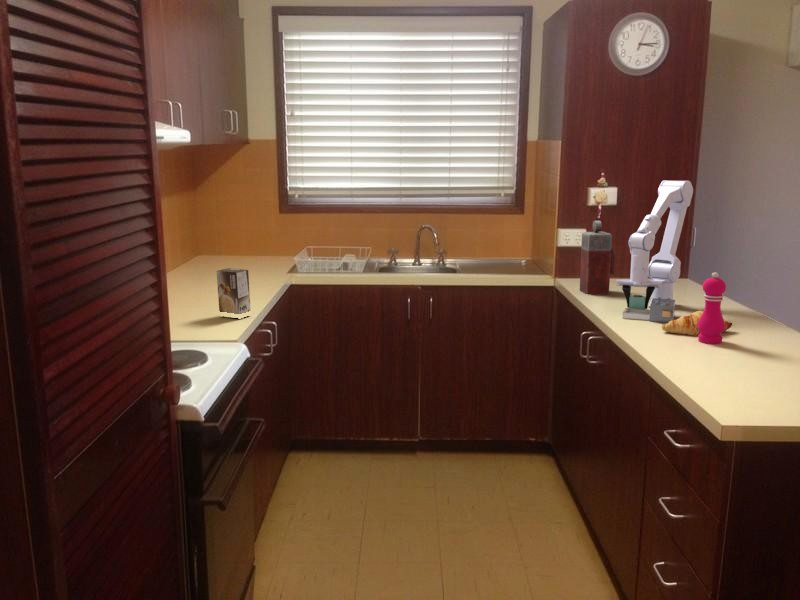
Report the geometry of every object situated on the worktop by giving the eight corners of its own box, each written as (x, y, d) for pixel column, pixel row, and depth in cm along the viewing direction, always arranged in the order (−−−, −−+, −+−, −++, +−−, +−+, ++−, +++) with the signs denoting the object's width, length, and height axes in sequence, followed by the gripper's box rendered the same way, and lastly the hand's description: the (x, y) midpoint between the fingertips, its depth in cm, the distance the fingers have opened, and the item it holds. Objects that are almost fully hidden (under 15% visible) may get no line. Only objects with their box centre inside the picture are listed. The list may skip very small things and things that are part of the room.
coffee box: (252, 316, 241) (249, 269, 237) (239, 320, 235) (236, 272, 232) (231, 313, 245) (228, 267, 242) (218, 317, 239) (215, 270, 236)
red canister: (615, 294, 274) (618, 221, 268) (586, 294, 273) (589, 221, 267) (606, 289, 282) (610, 219, 277) (579, 290, 282) (582, 219, 276)
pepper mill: (700, 337, 207) (705, 269, 203) (726, 340, 203) (732, 271, 199) (692, 342, 202) (697, 272, 198) (719, 346, 197) (725, 275, 193)
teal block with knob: (630, 310, 245) (631, 293, 244) (645, 311, 243) (646, 294, 242) (628, 312, 240) (629, 296, 239) (644, 314, 239) (645, 297, 237)
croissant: (665, 346, 211) (671, 326, 206) (653, 324, 218) (659, 304, 213) (734, 343, 212) (742, 323, 207) (720, 321, 219) (728, 301, 214)
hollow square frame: (625, 312, 241) (626, 294, 240) (674, 315, 235) (675, 297, 234) (621, 319, 230) (622, 301, 229) (672, 323, 224) (673, 304, 223)
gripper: (615, 268, 238) (613, 308, 241) (661, 271, 232) (659, 311, 235) (618, 265, 244) (616, 304, 247) (663, 268, 239) (660, 307, 241)
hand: (637, 307), depth 241 cm, fingers closed on teal block with knob, 5 cm apart
